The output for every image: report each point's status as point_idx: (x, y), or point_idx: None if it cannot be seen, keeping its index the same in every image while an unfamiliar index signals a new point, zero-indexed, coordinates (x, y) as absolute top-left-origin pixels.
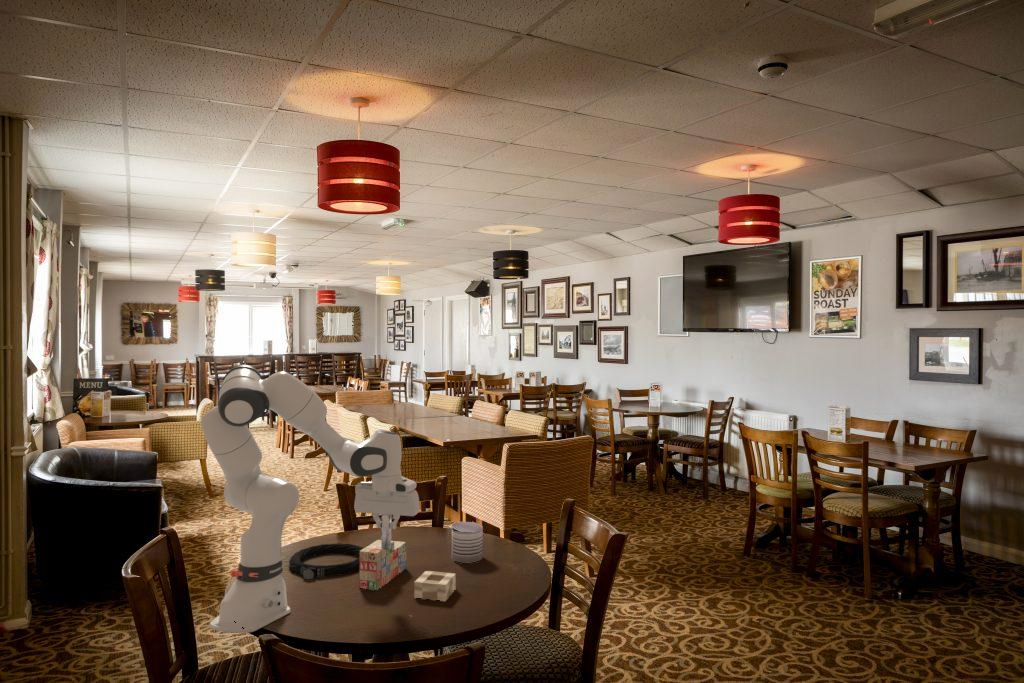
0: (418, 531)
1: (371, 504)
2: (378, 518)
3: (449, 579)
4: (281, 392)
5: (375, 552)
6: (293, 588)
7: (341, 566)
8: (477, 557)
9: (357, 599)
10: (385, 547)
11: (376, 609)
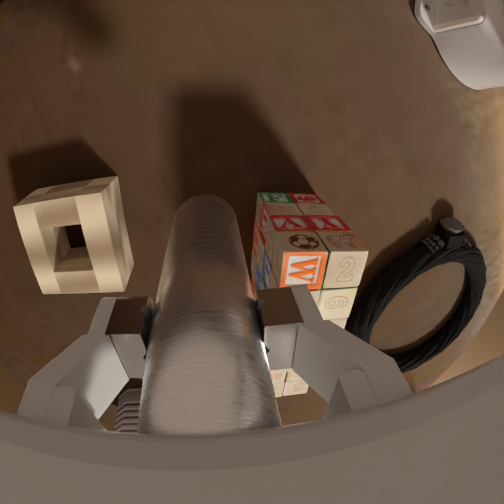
0: None
1: (500, 495)
2: (321, 379)
3: (27, 249)
4: None
5: (295, 258)
6: (460, 161)
7: (398, 277)
8: (118, 403)
9: (287, 114)
10: (194, 201)
11: (190, 59)
